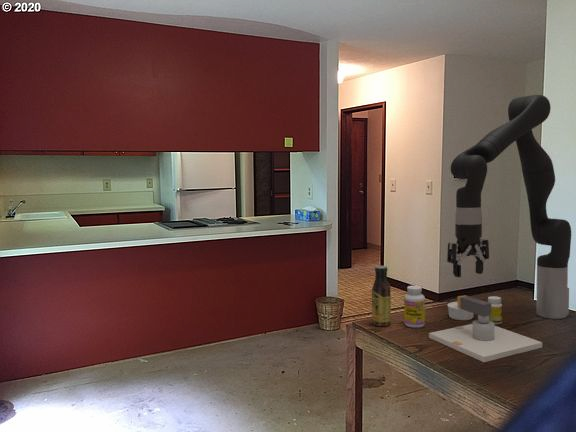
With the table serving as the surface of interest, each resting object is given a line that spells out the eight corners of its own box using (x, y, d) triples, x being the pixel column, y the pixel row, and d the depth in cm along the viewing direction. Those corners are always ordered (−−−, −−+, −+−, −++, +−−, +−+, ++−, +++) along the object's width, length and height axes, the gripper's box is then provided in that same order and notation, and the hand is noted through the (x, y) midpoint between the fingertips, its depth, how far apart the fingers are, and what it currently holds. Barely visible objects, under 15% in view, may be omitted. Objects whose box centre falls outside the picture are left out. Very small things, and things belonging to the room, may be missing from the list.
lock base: (483, 326, 160) (483, 308, 160) (542, 347, 140) (542, 327, 140) (429, 337, 152) (428, 318, 151) (483, 362, 132) (483, 340, 131)
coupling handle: (491, 322, 145) (491, 303, 144) (483, 324, 143) (483, 304, 143) (465, 313, 154) (465, 295, 154) (457, 314, 153) (457, 296, 152)
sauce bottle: (370, 322, 169) (368, 265, 167) (388, 320, 170) (386, 264, 168) (375, 328, 163) (373, 268, 161) (393, 326, 163) (392, 267, 161)
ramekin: (456, 322, 166) (456, 309, 165) (442, 315, 174) (442, 303, 174) (480, 319, 168) (480, 307, 167) (464, 312, 176) (464, 300, 176)
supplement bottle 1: (402, 327, 162) (402, 289, 161) (406, 321, 168) (405, 284, 167) (423, 329, 160) (423, 290, 159) (426, 322, 166) (425, 285, 165)
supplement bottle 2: (503, 324, 161) (503, 299, 160) (488, 324, 162) (488, 299, 161) (500, 320, 166) (500, 295, 165) (485, 320, 166) (485, 295, 166)
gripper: (477, 219, 154) (476, 270, 156) (441, 222, 149) (441, 275, 150) (495, 221, 147) (495, 274, 149) (459, 225, 142) (459, 280, 143)
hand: (468, 275), depth 150 cm, fingers open, 8 cm apart
